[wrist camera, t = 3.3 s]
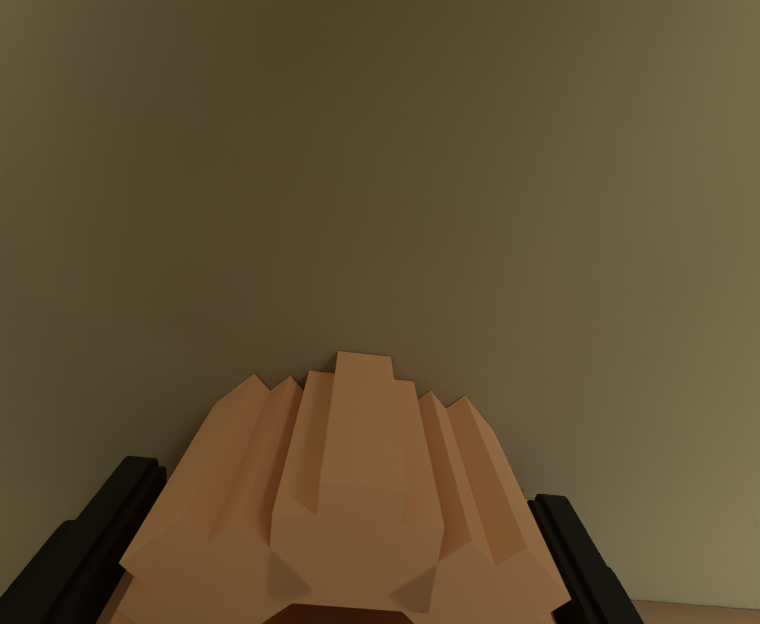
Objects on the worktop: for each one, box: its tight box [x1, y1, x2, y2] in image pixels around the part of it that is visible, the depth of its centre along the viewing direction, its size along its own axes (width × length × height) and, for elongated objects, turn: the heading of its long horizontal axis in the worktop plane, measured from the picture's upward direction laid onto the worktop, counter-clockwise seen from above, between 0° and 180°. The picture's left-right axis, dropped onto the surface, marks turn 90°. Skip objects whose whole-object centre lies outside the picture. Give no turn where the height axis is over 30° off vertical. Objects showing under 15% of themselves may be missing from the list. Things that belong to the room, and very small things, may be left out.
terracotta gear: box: [95, 351, 571, 624], centre depth 10 cm, size 7×7×4 cm
